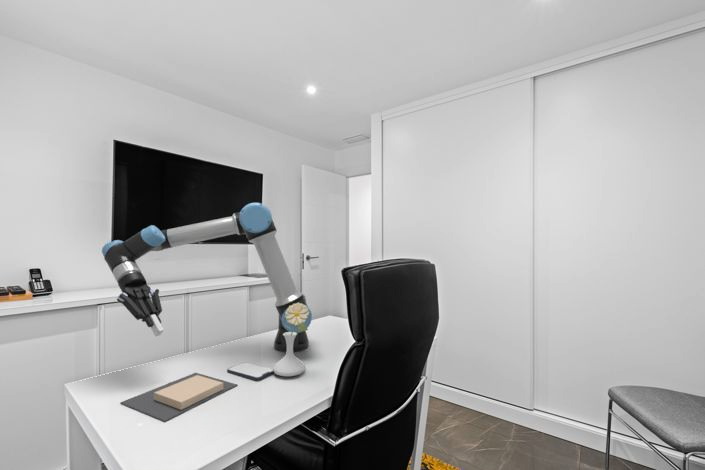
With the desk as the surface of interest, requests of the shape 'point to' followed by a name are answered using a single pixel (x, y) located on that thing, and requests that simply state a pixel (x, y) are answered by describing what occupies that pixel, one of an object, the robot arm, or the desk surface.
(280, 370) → the flower in vase
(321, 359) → the desk surface
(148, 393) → the mat
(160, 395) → the tile
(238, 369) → the smartphone
